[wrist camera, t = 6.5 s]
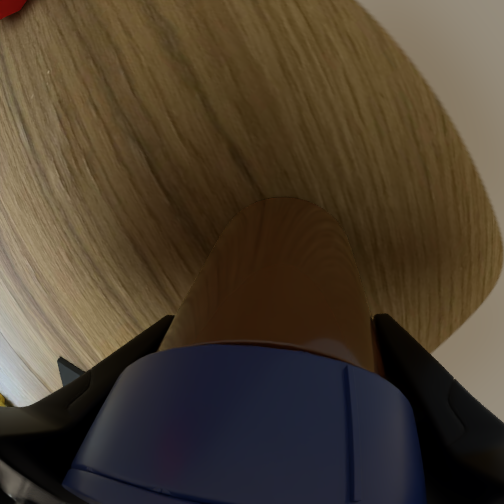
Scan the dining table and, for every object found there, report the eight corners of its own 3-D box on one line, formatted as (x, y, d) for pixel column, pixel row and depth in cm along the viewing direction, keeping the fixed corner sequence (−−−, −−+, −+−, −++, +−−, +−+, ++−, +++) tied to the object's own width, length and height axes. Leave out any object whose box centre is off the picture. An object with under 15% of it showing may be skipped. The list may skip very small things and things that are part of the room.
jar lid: (125, 267, 4) (-4, 428, 1) (476, 390, 4) (506, 503, 2) (118, 435, 7) (87, 503, 5) (312, 491, 7) (305, 557, 5)
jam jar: (376, 235, 12) (467, 488, 3) (310, 330, 15) (299, 538, 5) (247, 172, 11) (81, 418, 2) (201, 284, 14) (104, 488, 5)
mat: (156, 409, 21) (153, 414, 21) (145, 441, 26) (144, 445, 26) (60, 356, 21) (56, 360, 20) (70, 400, 26) (68, 404, 25)
